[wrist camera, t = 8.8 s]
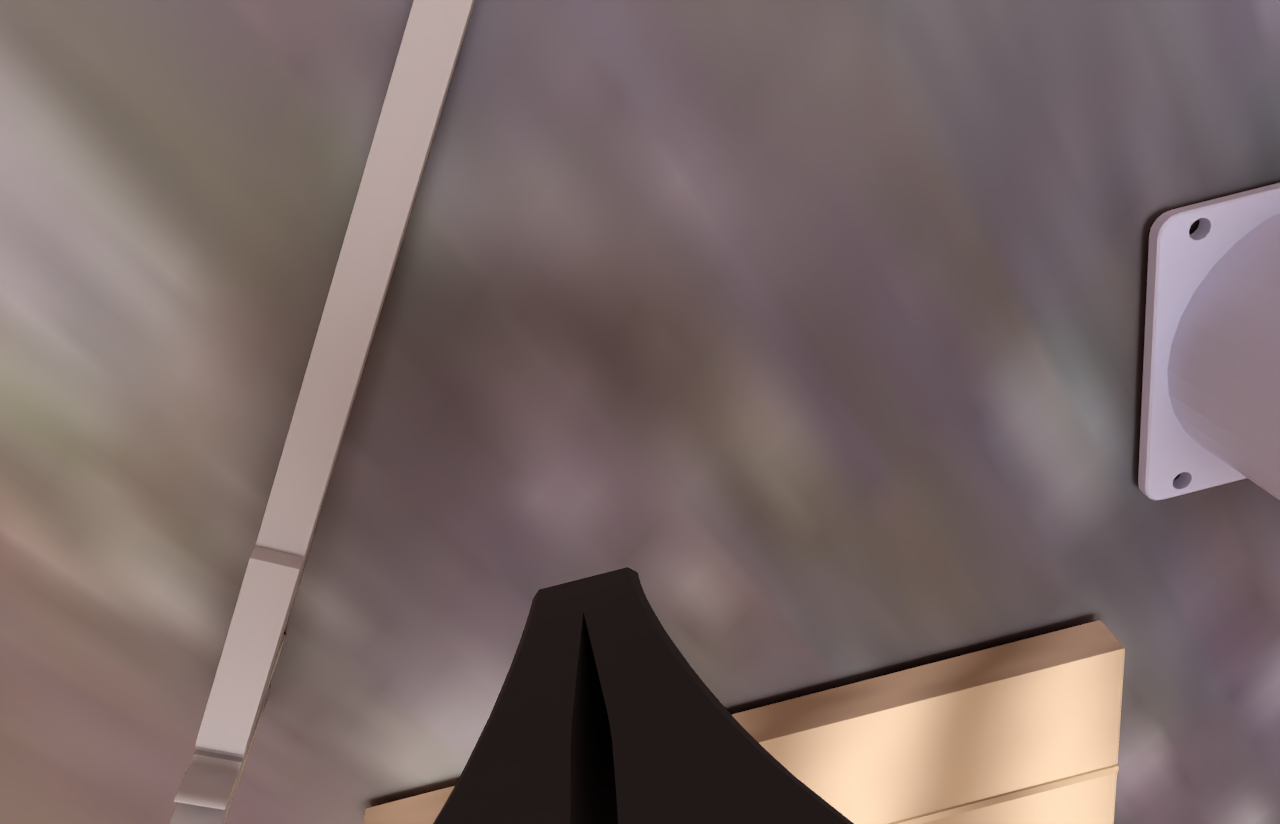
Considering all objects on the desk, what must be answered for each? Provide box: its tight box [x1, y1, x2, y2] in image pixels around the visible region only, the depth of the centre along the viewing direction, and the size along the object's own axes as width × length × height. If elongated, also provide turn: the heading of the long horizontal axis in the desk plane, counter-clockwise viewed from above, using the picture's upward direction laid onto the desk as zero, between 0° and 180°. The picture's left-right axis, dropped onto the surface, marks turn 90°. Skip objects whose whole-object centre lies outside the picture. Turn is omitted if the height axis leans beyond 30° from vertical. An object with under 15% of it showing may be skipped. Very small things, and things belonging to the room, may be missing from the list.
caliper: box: [170, 0, 475, 824], centre depth 18 cm, size 20×1×6 cm, turn 159°
